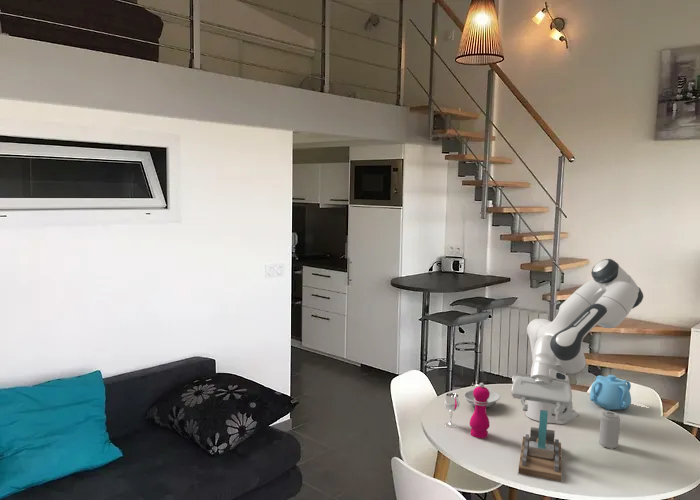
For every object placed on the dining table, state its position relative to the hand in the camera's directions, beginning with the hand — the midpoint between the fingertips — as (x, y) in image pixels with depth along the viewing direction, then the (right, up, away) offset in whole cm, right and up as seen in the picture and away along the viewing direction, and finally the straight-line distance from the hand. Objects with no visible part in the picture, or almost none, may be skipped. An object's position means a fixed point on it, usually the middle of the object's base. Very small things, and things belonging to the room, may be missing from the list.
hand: (539, 412), depth 201 cm
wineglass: (-26, -12, +25) cm, 38 cm away
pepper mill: (-17, -13, +16) cm, 27 cm away
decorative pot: (+47, -12, +51) cm, 70 cm away
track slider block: (-1, -13, -4) cm, 14 cm away
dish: (-10, -10, +45) cm, 47 cm away
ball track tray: (-1, -15, -3) cm, 16 cm away
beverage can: (+28, -15, +11) cm, 34 cm away
